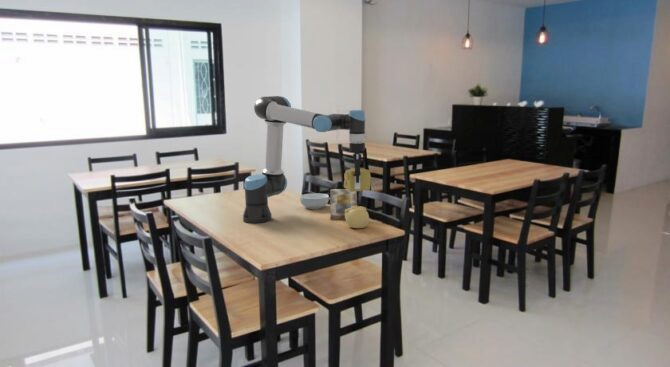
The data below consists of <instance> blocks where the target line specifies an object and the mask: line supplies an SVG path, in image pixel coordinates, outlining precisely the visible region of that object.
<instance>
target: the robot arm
mask: <svg viewBox="0 0 670 367" xmlns="http://www.w3.org/2000/svg"><path fill="white" fill-rule="evenodd" d="M253 109H254V113H255V115H256V116H257V117H258V118H260V119H261V120H264V123H265V124H266V126H267V127H266V142H265V143H266V147H265V151H266V152H265V167H264V169H263V170H262V173H261V174H252V175H249V176H247V177H246V178H245V179H244V185H243V186H244V195H245V196H244V199H245V208H244V211H243V214H242V221H243V223H248V224H260V223H267V222H270V221H271V220H272V217H273V216H272V211H271V210H270V207H269V202H268V201H269V198H271V197H273V196H277V195H280V194H282V193H283V192H285V191H286V189H287V187H288V180H287V178H286V176H285V174H284V173H285V172H284V170H282V159H283V158H282V156H283V140H284V126H285V124H287V123H288V124H293V125H297V126H300V127H304V128H308V129H313V130H315V131H316V132H318V133H327V132H330V131H339V130H345V131H348V137H349V138H348V141H349V146H348V147H349V151H350V152H353V154H352V159H353V164H354V167H353V168H355V174H353V176H355V189H360V168H361V163H362V154H361V153H360V152H365V150H366V137H367V135H366V129H365V128H366V116H365V113H366V112H365V110H363V109H351V110H348V111H349V112H348V113H347V114H346V113H343V114H342V113H330V114H322V113H318V112H314V111H309V110H305V109H304V110H303V109H299V108H295V107H292V104H291V103H290V101H289V100H288V98H286V97H285V96H280V95H272V96H271V95H270V96H261V97H259V98H258V99H257V100H256V101H255V103H254V106H253Z"/></svg>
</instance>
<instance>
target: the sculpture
mask: <svg viewBox="0 0 670 367" xmlns="http://www.w3.org/2000/svg"><path fill="white" fill-rule="evenodd" d="M345 219H346V220H345V222H346V224H347V226H348V227H349V228H354V229H364V228H366V227H367V226H368V225H369V222H370V215H369V212H368V211H367V207H365V206H361V205H360V206H359V205H357V206H353V207H351V208H348V209H346V210H345Z"/></svg>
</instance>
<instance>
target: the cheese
mask: <svg viewBox="0 0 670 367" xmlns="http://www.w3.org/2000/svg"><path fill="white" fill-rule="evenodd" d="M353 174H355V168H354V167H351V168H349V169H346V170H345V172H344V175H343V176H344V181H343V187H344V189H348V190H349V191H351V192H353V191H357V192H361V191H370V190H371V182H372V181H371V180H372V178H371V177H372V176H371V171H370V169H366V168H364V167H360V189H355V176H353Z"/></svg>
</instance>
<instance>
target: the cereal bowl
mask: <svg viewBox="0 0 670 367" xmlns="http://www.w3.org/2000/svg"><path fill="white" fill-rule="evenodd" d="M329 198H330V196H329V194H327V193H319V192H318V193H305V194H301V195H300V196H299V202H300V204H301V205H302V206H303V207H306V208H308V209H310V210H319V209H321V208H323V207H324V206H326V205H327V204H328V203H329Z"/></svg>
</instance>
